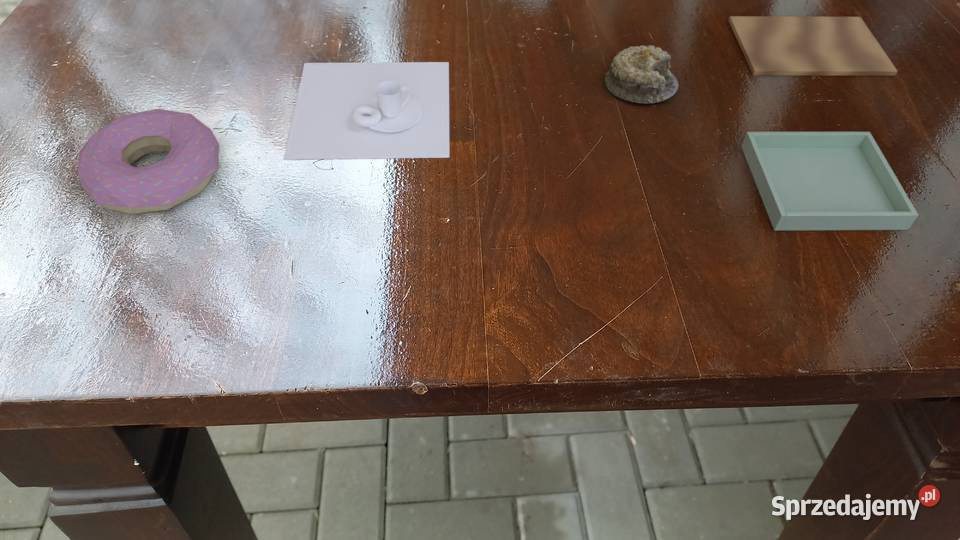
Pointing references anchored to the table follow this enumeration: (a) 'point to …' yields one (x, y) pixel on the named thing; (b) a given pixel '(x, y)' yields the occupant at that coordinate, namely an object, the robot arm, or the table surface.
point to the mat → (810, 46)
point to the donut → (156, 184)
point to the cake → (641, 75)
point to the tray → (826, 181)
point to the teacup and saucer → (371, 111)
